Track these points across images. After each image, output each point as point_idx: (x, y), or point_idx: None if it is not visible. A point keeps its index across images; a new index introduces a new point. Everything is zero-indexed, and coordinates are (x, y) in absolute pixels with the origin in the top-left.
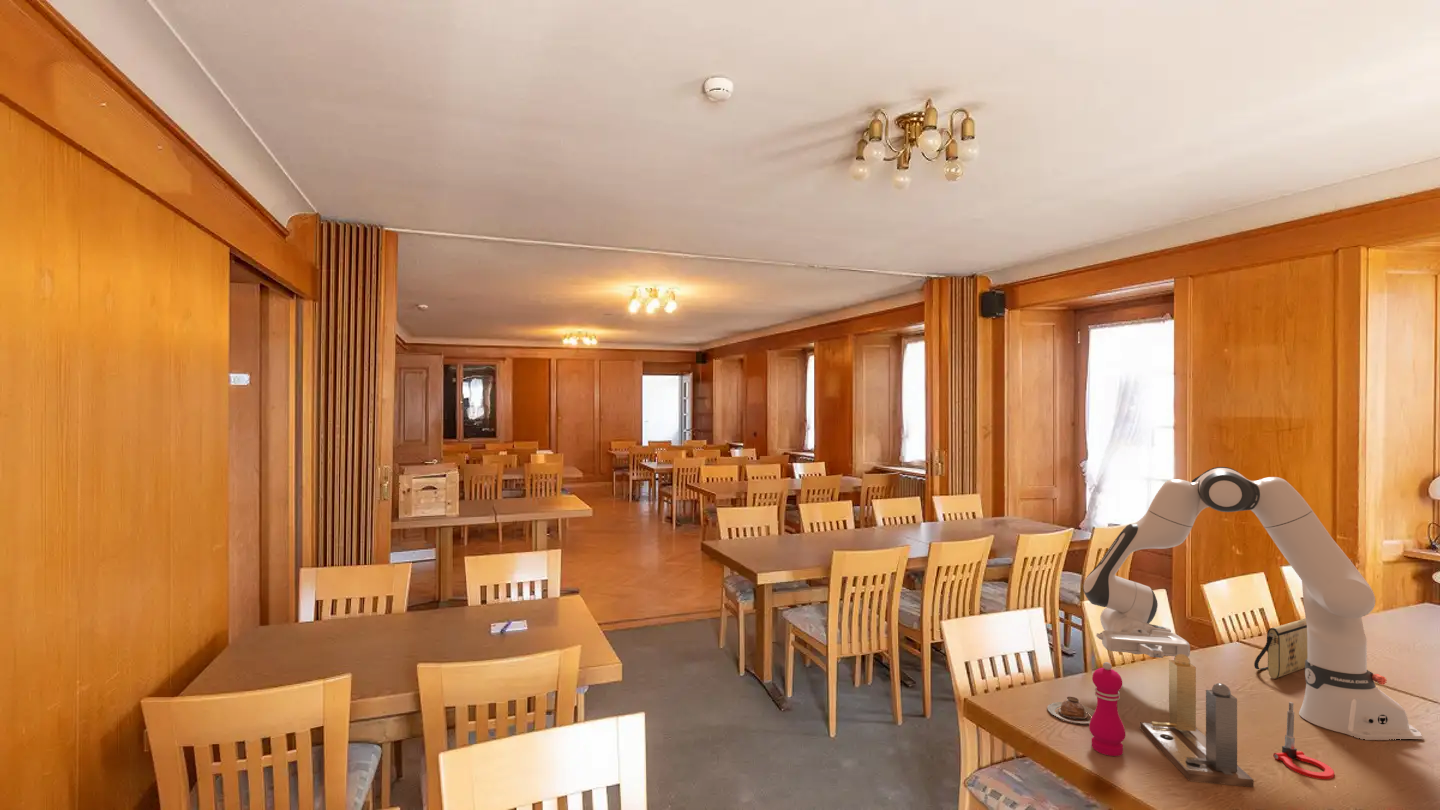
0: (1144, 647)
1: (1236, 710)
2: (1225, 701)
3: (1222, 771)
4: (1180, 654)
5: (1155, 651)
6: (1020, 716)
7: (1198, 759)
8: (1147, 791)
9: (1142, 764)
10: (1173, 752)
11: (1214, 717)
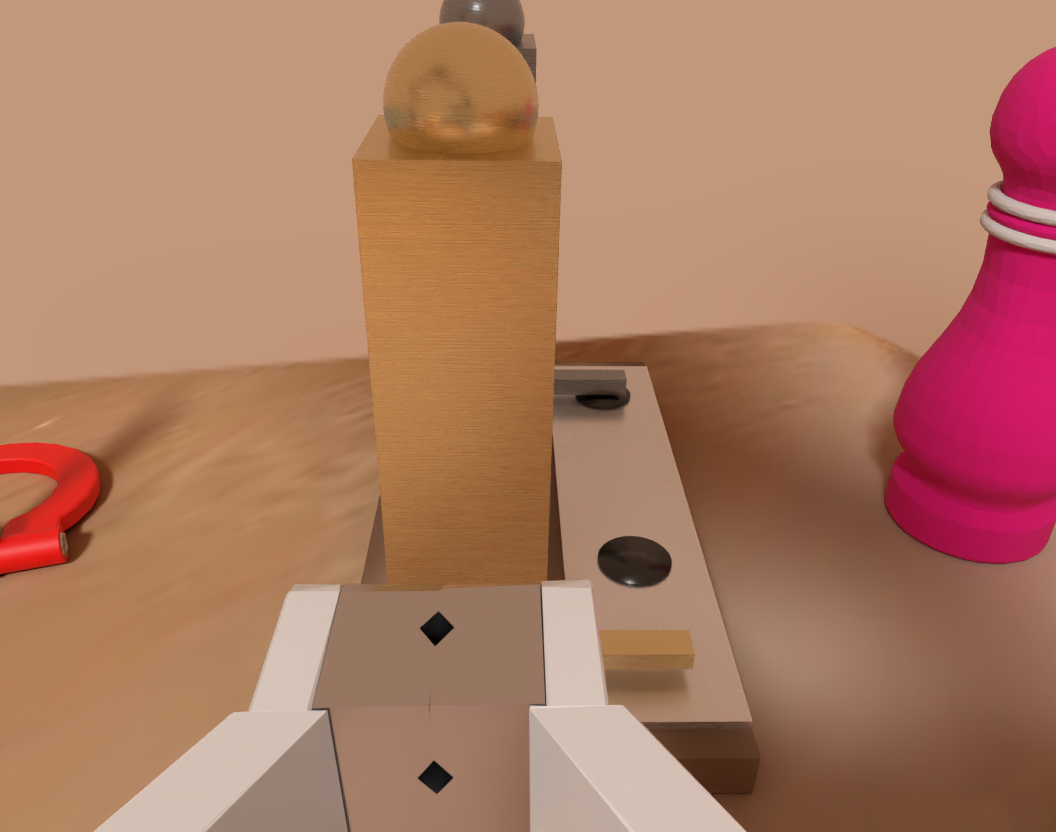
0: (692, 803)
1: None
2: None
3: None
4: (478, 25)
5: (483, 587)
6: None
7: (581, 372)
8: (805, 340)
9: (800, 445)
10: (655, 446)
11: None
